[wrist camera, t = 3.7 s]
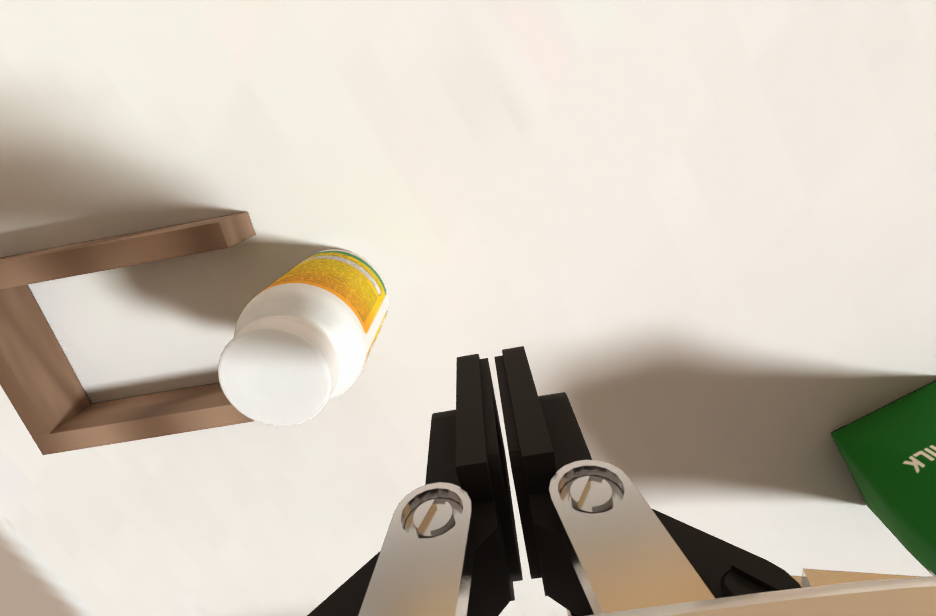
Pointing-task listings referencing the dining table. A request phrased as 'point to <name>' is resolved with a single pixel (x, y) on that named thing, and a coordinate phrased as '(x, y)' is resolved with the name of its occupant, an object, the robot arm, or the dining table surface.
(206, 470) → the dining table surface
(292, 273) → the supplement bottle
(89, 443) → the u rest
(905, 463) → the milk carton
